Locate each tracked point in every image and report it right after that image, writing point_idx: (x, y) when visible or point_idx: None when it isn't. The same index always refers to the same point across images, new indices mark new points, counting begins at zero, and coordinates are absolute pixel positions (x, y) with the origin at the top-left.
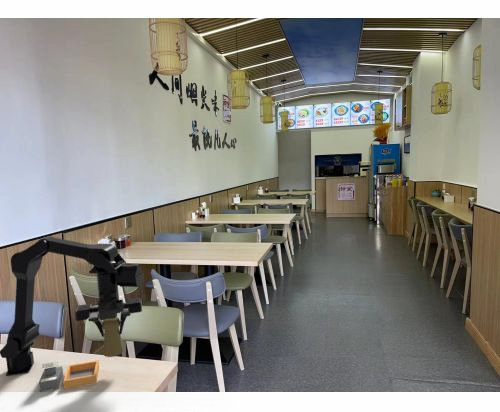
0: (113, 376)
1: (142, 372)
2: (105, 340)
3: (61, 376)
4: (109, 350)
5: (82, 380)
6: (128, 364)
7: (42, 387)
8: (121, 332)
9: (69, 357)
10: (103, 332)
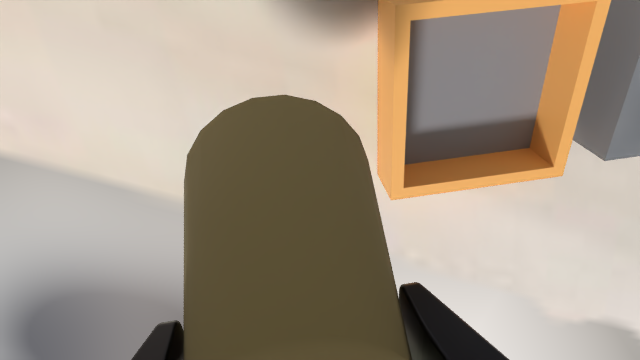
0: (273, 55)
1: (63, 59)
2: (369, 228)
3: (588, 100)
4: (305, 132)
5: None
6: None
7: None
8: (146, 342)
9: (524, 280)
10: (423, 338)
